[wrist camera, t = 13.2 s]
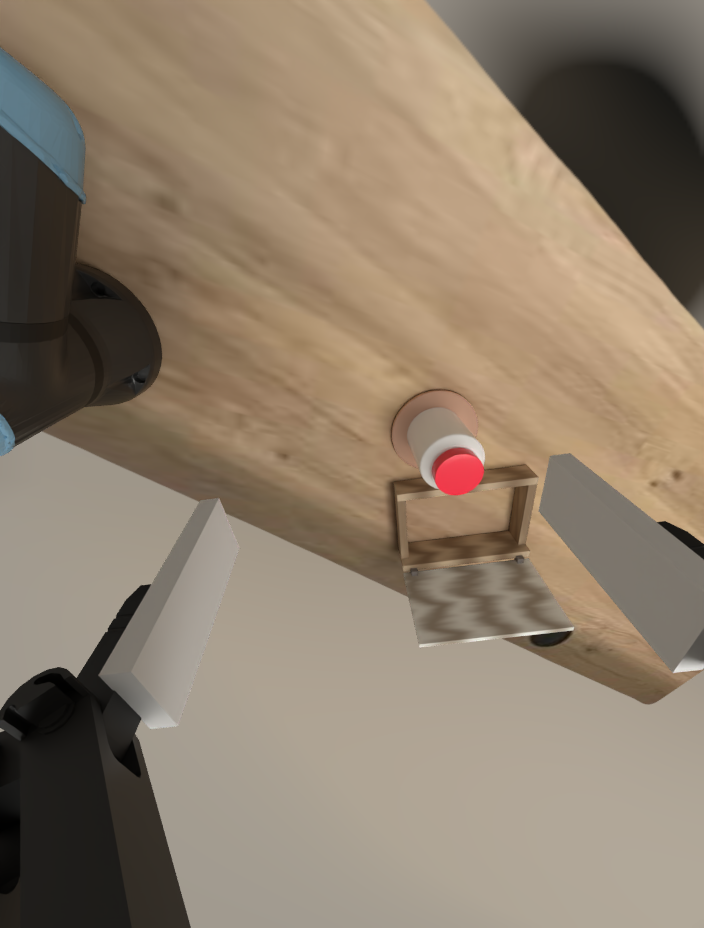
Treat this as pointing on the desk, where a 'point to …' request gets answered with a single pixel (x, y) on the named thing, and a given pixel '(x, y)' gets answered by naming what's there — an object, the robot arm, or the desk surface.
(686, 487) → the desk surface
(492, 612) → the frame
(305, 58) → the desk surface
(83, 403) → the robot arm
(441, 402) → the saucer
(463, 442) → the pill bottle
